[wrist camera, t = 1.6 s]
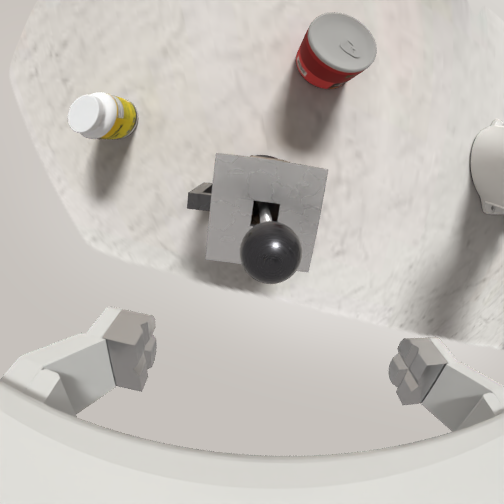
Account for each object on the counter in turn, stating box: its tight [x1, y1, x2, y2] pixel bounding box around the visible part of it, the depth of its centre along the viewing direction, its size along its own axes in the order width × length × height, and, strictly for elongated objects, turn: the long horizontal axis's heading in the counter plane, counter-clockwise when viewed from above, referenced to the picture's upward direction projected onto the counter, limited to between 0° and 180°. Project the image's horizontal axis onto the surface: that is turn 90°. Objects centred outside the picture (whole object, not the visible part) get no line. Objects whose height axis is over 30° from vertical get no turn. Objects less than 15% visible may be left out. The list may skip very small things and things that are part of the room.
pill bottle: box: [68, 92, 138, 139], centre depth 31 cm, size 6×6×11 cm
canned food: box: [296, 12, 377, 89], centre depth 28 cm, size 8×8×11 cm
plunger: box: [240, 200, 302, 284], centre depth 23 cm, size 7×7×17 cm
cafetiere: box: [187, 153, 328, 272], centre depth 33 cm, size 13×10×15 cm
